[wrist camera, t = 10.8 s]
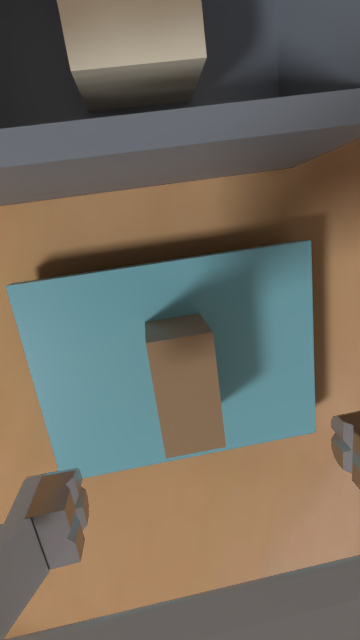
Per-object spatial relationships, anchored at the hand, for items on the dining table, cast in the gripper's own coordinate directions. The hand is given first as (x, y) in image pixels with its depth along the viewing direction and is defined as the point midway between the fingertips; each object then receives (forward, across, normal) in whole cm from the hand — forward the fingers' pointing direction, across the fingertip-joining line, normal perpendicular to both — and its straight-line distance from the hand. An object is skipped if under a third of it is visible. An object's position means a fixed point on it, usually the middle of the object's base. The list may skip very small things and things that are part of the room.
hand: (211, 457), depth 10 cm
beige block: (+10, 0, -15) cm, 18 cm away
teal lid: (+10, 0, +1) cm, 10 cm away
